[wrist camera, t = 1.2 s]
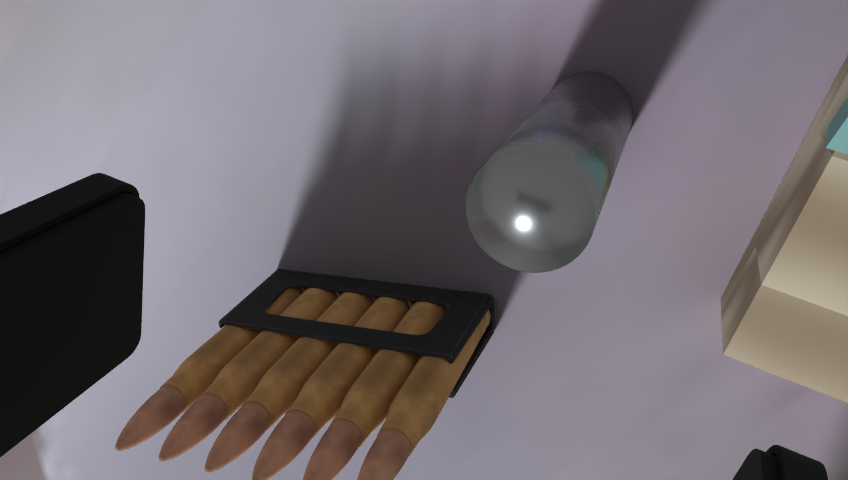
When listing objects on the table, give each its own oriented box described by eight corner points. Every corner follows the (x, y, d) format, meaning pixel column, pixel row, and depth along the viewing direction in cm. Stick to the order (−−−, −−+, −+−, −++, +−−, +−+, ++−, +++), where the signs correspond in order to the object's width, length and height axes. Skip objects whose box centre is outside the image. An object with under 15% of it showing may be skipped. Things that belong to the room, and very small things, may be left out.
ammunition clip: (494, 294, 30) (384, 488, 20) (495, 332, 31) (389, 537, 20) (276, 268, 34) (88, 421, 23) (281, 302, 34) (100, 465, 24)
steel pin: (614, 170, 26) (569, 291, 18) (532, 141, 27) (451, 245, 18) (646, 88, 25) (615, 176, 16) (559, 60, 25) (484, 131, 17)
